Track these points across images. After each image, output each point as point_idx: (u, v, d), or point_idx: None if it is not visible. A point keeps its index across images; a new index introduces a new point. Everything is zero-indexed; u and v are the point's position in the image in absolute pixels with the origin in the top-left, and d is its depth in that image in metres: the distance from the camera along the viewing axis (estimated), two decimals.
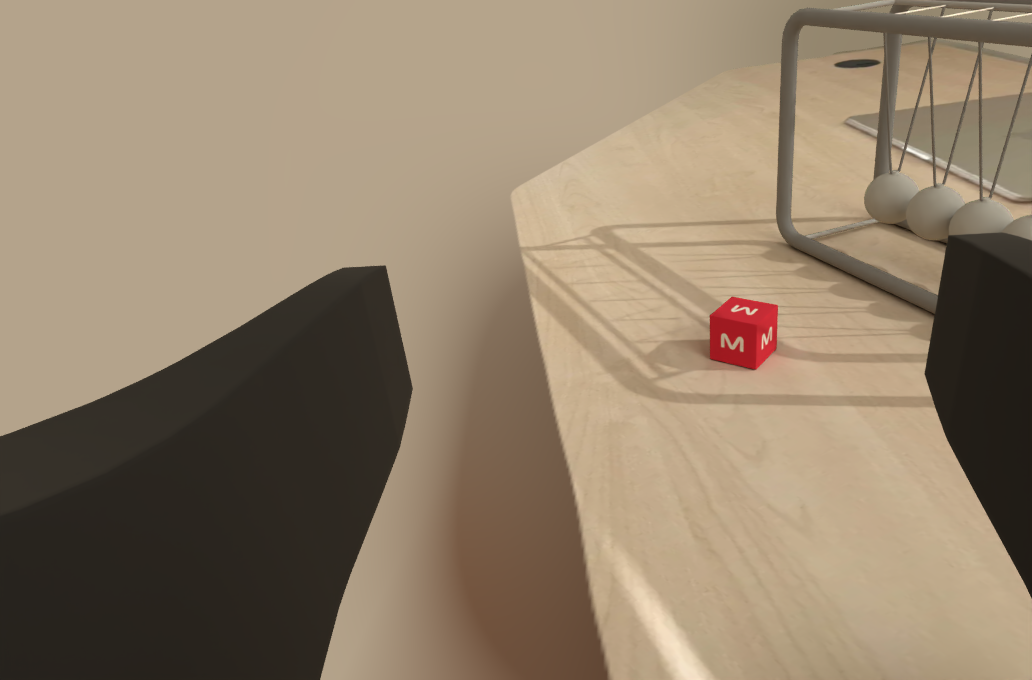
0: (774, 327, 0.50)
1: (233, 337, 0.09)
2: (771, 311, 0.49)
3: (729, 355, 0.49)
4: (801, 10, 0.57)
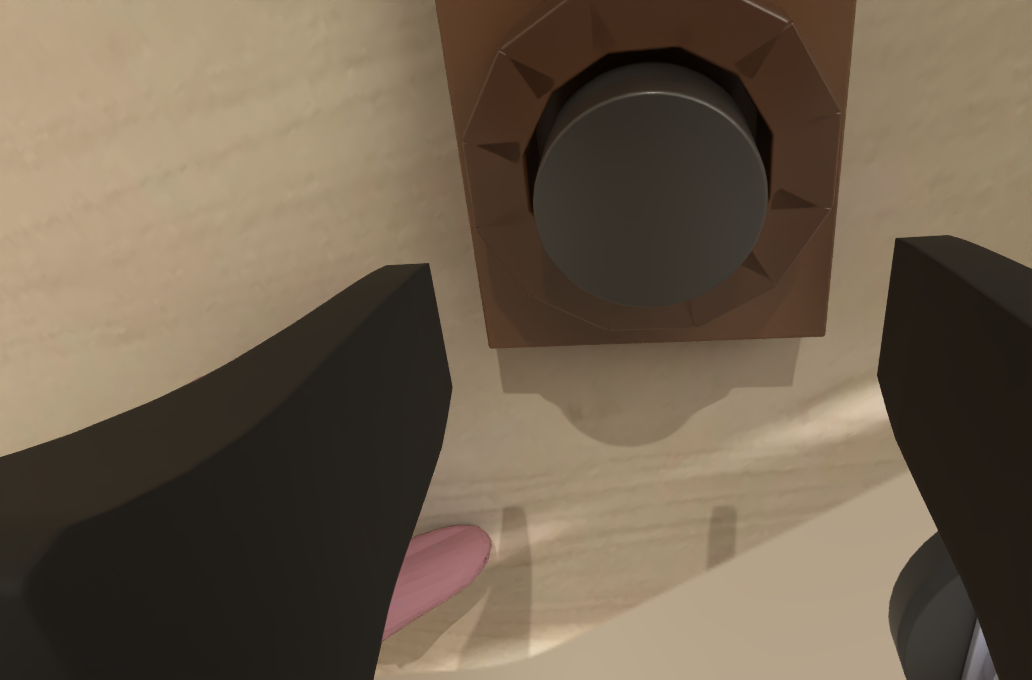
0: None
1: (286, 335, 0.08)
2: None
3: None
4: None
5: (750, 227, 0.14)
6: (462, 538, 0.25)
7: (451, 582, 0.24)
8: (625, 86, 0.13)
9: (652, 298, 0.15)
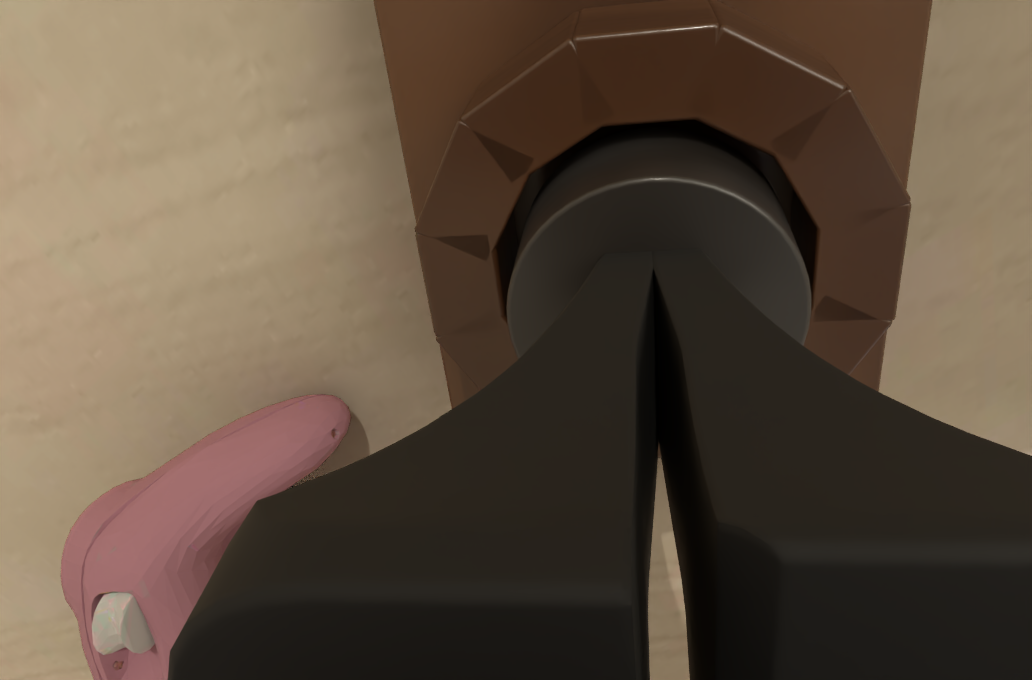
0: None
1: (567, 323, 0.08)
2: None
3: None
4: None
5: None
6: None
7: None
8: (624, 167, 0.10)
9: None
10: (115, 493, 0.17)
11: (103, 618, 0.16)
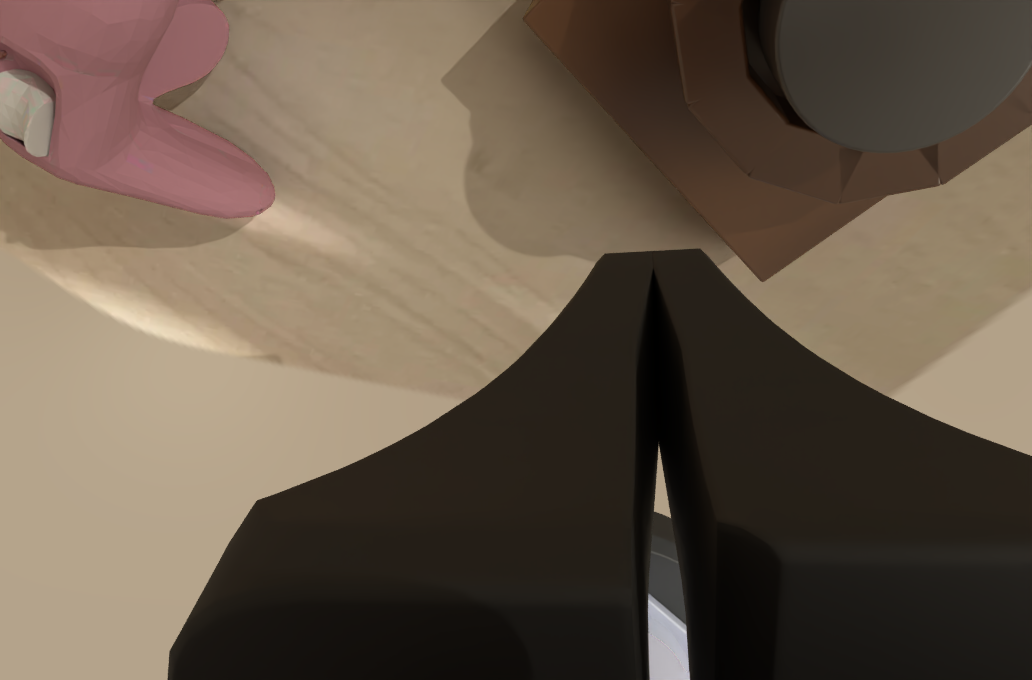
0: None
1: (567, 324, 0.08)
2: None
3: None
4: None
5: (943, 129, 0.13)
6: (252, 171, 0.20)
7: (215, 199, 0.19)
8: None
9: (811, 107, 0.13)
10: None
11: None
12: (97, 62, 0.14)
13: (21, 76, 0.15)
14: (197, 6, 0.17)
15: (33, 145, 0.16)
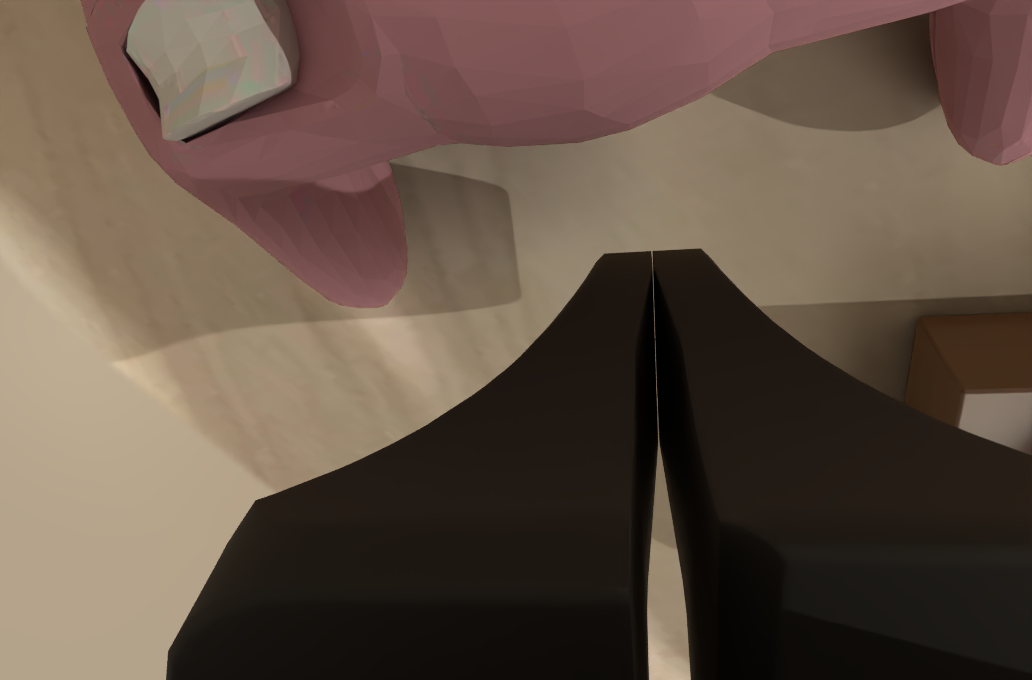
0: None
1: (567, 324, 0.08)
2: None
3: None
4: None
5: None
6: (403, 243, 0.12)
7: (349, 283, 0.11)
8: None
9: None
10: None
11: None
12: (478, 128, 0.06)
13: None
14: None
15: (186, 130, 0.07)
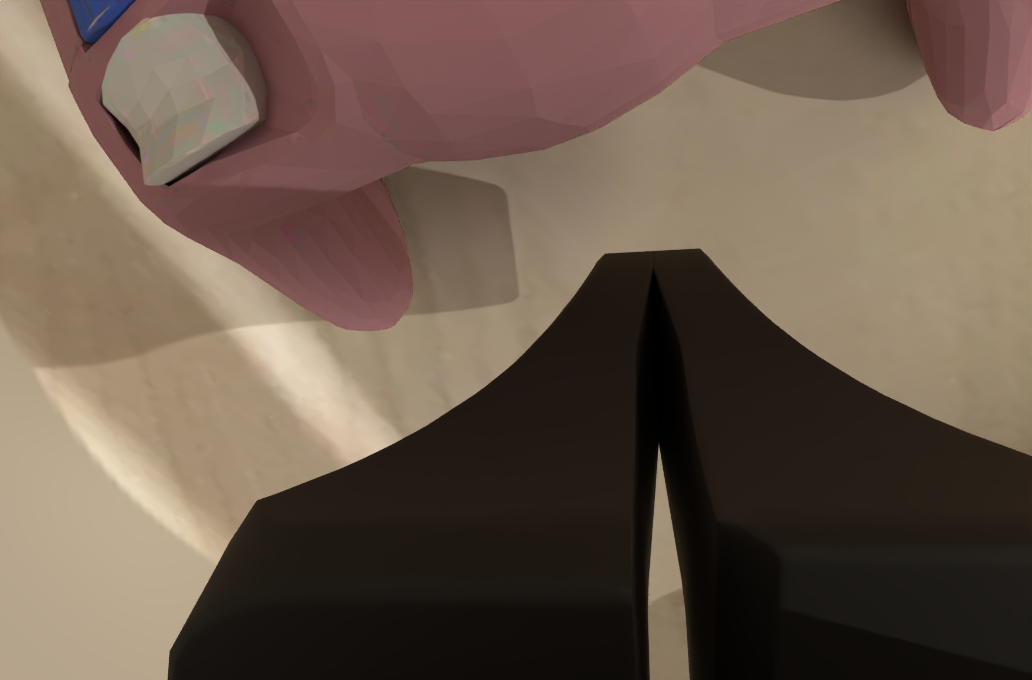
0: None
1: (567, 324, 0.08)
2: None
3: None
4: None
5: None
6: (405, 264, 0.12)
7: (352, 308, 0.11)
8: None
9: None
10: None
11: None
12: (439, 146, 0.06)
13: (223, 38, 0.07)
14: None
15: (165, 175, 0.07)
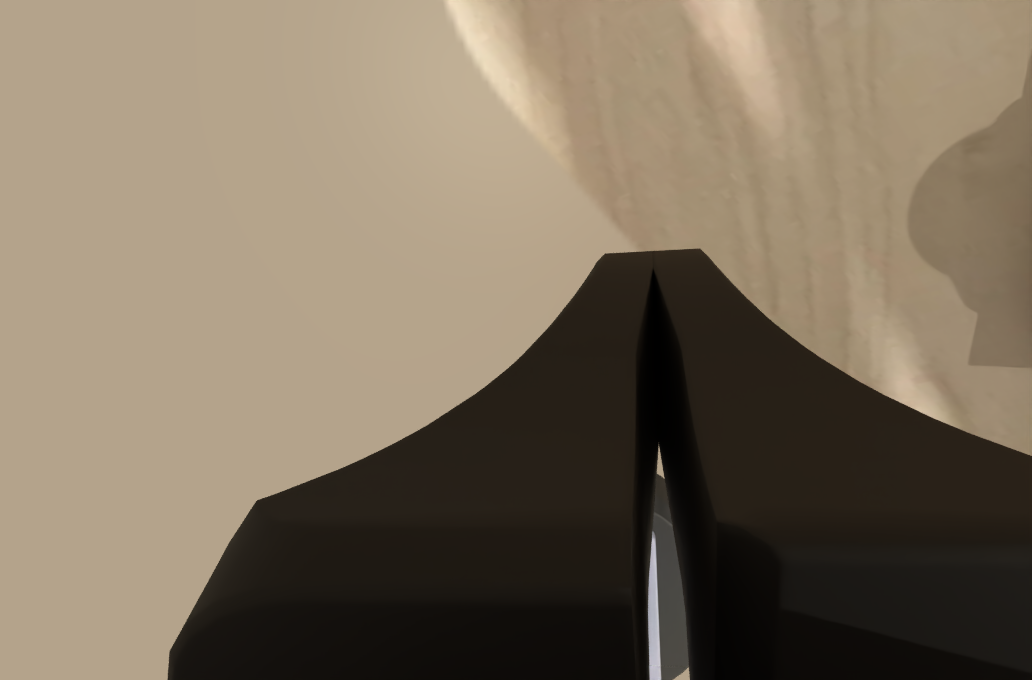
0: None
1: (567, 324, 0.08)
2: None
3: None
4: None
5: None
6: None
7: None
8: None
9: None
10: None
11: None
12: None
13: None
14: None
15: None
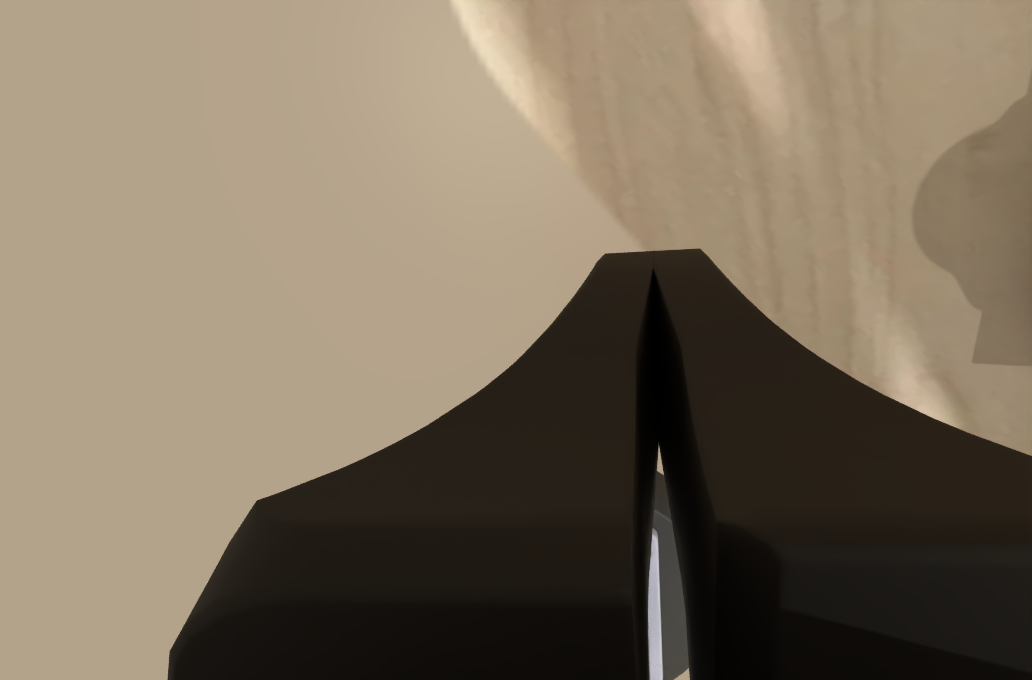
0: None
1: (568, 324, 0.08)
2: None
3: None
4: None
5: None
6: None
7: None
8: None
9: None
10: None
11: None
12: None
13: None
14: None
15: None
